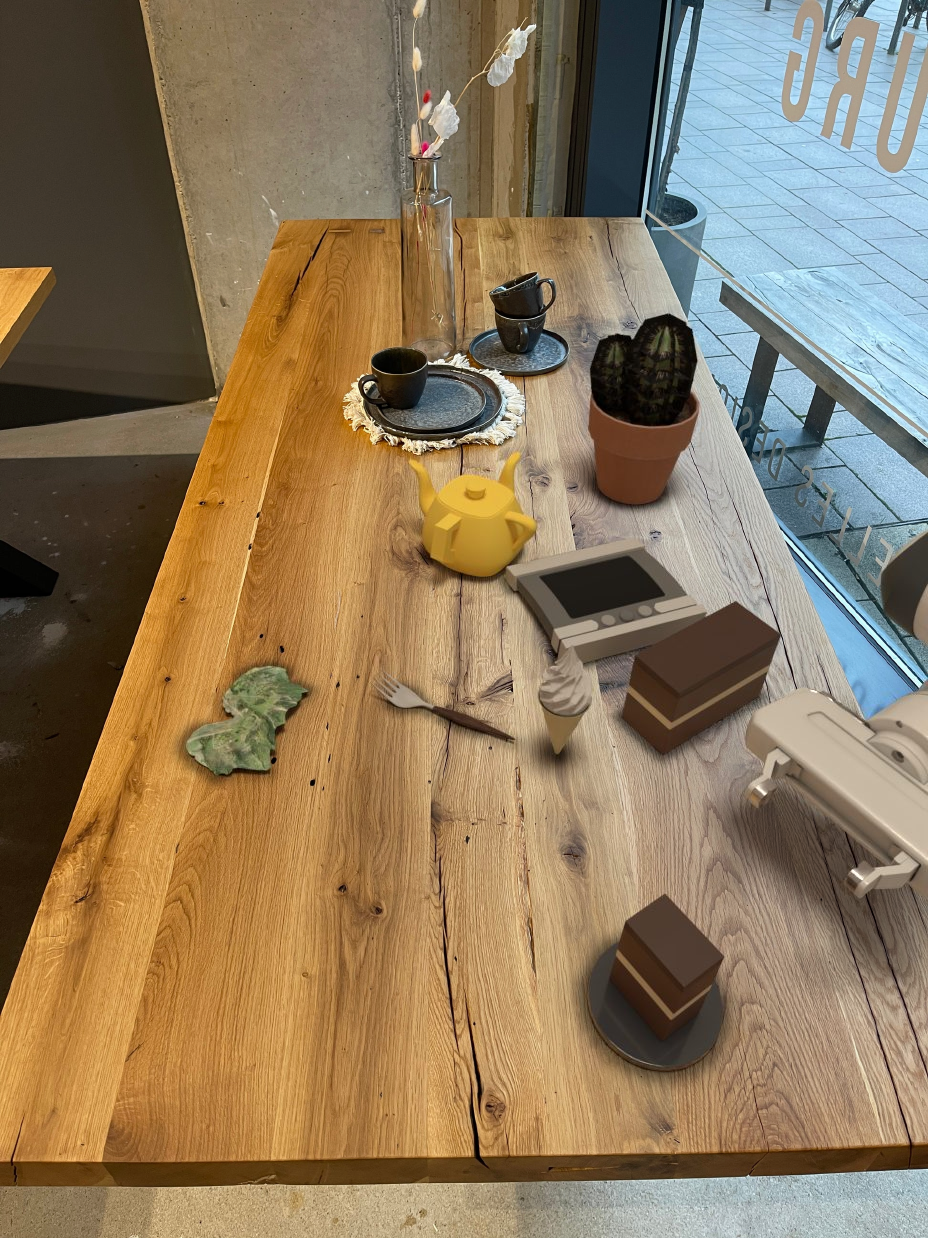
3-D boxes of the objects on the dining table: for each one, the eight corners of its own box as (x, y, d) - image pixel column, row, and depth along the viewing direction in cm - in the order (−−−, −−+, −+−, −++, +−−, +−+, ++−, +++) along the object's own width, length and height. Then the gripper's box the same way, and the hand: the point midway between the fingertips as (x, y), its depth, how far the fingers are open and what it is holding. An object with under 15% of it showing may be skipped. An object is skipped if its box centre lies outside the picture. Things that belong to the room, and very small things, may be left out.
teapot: (515, 513, 118) (519, 447, 112) (539, 579, 109) (546, 511, 102) (409, 522, 117) (408, 456, 110) (424, 591, 107) (424, 522, 100)
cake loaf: (717, 662, 99) (735, 600, 93) (759, 696, 96) (781, 634, 90) (621, 716, 93) (634, 654, 87) (662, 755, 90) (679, 693, 84)
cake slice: (645, 951, 74) (665, 893, 68) (699, 1012, 70) (725, 956, 64) (608, 978, 72) (624, 921, 66) (661, 1042, 69) (684, 988, 62)
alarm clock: (566, 648, 96) (506, 547, 106) (560, 676, 99) (503, 575, 109) (707, 611, 100) (637, 518, 110) (697, 639, 104) (630, 546, 114)
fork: (509, 752, 90) (510, 739, 88) (369, 695, 95) (368, 682, 93) (520, 734, 91) (521, 721, 90) (382, 679, 96) (381, 666, 95)
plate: (702, 937, 76) (704, 933, 75) (736, 1068, 68) (739, 1064, 68) (578, 942, 75) (579, 938, 75) (598, 1075, 68) (599, 1070, 67)
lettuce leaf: (264, 786, 86) (262, 776, 85) (172, 766, 87) (169, 756, 86) (320, 674, 97) (318, 664, 96) (237, 658, 98) (234, 647, 97)
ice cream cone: (527, 767, 88) (538, 658, 78) (536, 728, 92) (549, 619, 82) (578, 777, 88) (597, 669, 77) (586, 738, 91) (605, 629, 81)
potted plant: (656, 452, 130) (689, 279, 113) (698, 508, 120) (741, 327, 103) (565, 465, 127) (585, 289, 110) (601, 522, 117) (629, 339, 100)
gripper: (819, 656, 78) (706, 725, 72) (1048, 820, 66) (935, 920, 60) (800, 705, 83) (692, 774, 77) (1011, 869, 70) (902, 966, 64)
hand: (800, 840), depth 68 cm, fingers open, 8 cm apart
